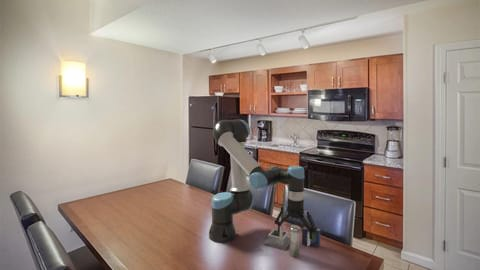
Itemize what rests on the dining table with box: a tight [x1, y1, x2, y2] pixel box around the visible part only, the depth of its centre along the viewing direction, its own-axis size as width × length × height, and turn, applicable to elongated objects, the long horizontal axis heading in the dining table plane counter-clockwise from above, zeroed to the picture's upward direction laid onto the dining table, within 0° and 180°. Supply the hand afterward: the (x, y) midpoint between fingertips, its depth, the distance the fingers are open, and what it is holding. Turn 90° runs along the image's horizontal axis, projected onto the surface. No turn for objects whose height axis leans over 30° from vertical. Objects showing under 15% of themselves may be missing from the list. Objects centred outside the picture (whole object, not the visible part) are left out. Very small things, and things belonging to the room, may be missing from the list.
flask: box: [301, 226, 321, 248], centre depth 136 cm, size 9×3×11 cm, turn 77°
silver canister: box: [289, 224, 301, 258], centre depth 127 cm, size 5×5×14 cm
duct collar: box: [263, 228, 290, 251], centre depth 140 cm, size 12×12×5 cm
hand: (294, 241), depth 127 cm, fingers open, 13 cm apart
